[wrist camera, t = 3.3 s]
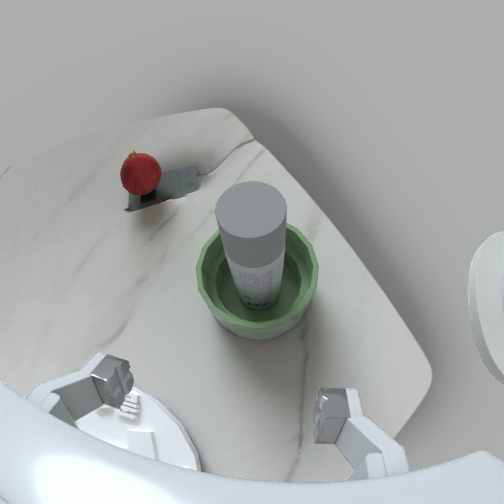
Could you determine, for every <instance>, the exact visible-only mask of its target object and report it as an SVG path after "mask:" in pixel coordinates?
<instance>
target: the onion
mask: <svg viewBox="0 0 504 504" xmlns="http://www.w3.org/2000/svg"><path fill="white" fill-rule="evenodd" d="M120 175H121V181H122V184H123V187H124V188H125V189H126V190H127V191H128V192H129V193H131V194H133V195H145V194H148V193H150V192H151V191H153V190H154V189H155V188H156V187H157V185H158V183H159V182H160V178H161V168H160V166H159V164H158V162H157V161H156V159H154V158H153V157H152V156H150V155H148V154H145V153H137V154H136V152H135V151H130V152H129V154H128V158H127V159H126V160H125V161H124V163H123V165H122V168H121V172H120Z"/></svg>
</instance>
